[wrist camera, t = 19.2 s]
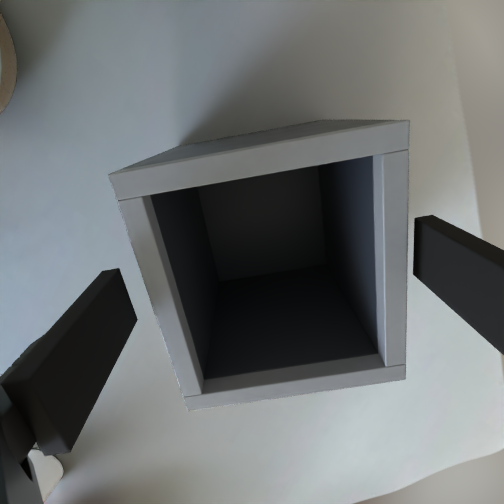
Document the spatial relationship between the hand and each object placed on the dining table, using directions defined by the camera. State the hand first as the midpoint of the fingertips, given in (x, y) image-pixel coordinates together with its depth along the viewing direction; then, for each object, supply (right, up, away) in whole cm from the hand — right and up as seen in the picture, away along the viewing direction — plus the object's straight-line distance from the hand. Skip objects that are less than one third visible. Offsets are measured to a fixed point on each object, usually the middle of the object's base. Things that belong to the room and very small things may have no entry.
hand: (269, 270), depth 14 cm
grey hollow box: (+1, -4, +8) cm, 9 cm away
